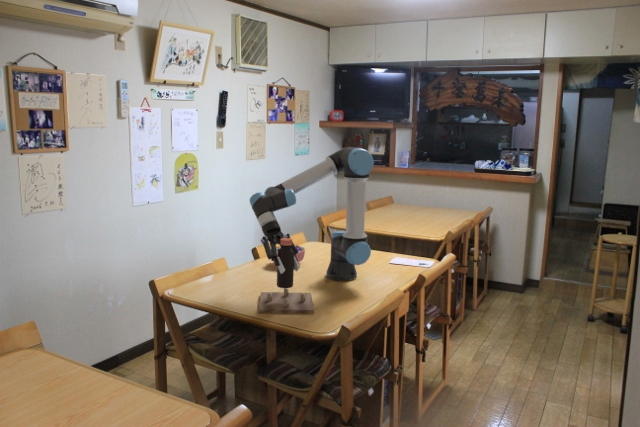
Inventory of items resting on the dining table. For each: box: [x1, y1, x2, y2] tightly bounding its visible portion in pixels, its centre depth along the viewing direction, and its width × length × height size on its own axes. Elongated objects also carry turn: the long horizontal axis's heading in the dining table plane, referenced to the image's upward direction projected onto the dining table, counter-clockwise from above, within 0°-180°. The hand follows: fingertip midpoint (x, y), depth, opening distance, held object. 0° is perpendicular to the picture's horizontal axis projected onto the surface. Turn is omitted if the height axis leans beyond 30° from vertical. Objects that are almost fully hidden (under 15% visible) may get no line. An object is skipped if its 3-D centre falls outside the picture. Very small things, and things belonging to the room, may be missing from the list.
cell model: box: [276, 244, 306, 264], centre depth 287 cm, size 17×20×11 cm
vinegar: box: [276, 237, 295, 289], centre depth 222 cm, size 7×7×20 cm
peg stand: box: [258, 288, 315, 315], centre depth 224 cm, size 22×22×4 cm
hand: (290, 270), depth 219 cm, fingers closed on vinegar, 7 cm apart
